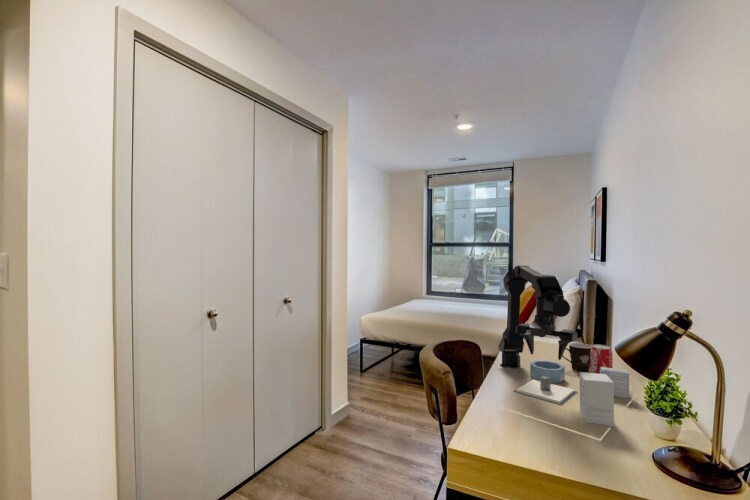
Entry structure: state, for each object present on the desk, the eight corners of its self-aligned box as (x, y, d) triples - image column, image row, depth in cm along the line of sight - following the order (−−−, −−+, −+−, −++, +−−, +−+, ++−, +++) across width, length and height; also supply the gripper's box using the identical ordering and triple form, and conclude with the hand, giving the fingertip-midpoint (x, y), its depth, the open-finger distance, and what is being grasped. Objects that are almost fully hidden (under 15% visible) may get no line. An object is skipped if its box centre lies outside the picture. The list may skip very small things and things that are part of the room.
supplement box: (607, 416, 108) (607, 373, 108) (614, 427, 101) (614, 382, 101) (579, 412, 110) (579, 371, 110) (584, 423, 103) (584, 379, 103)
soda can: (606, 377, 141) (606, 344, 141) (616, 384, 134) (616, 349, 134) (586, 377, 142) (586, 343, 142) (596, 383, 134) (596, 348, 135)
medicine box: (626, 395, 124) (626, 369, 124) (629, 399, 120) (629, 373, 120) (599, 391, 127) (599, 366, 127) (601, 395, 123) (601, 370, 123)
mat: (512, 393, 126) (512, 391, 126) (531, 381, 137) (531, 380, 137) (561, 407, 114) (561, 405, 114) (578, 393, 125) (578, 391, 125)
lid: (516, 391, 125) (516, 377, 126) (533, 381, 135) (533, 368, 135) (559, 403, 115) (559, 388, 115) (574, 391, 125) (574, 377, 125)
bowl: (526, 379, 140) (526, 364, 140) (538, 372, 147) (538, 359, 147) (557, 386, 132) (557, 371, 132) (567, 379, 139) (567, 365, 139)
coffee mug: (593, 368, 152) (593, 344, 152) (592, 374, 144) (592, 349, 144) (562, 364, 158) (561, 341, 158) (559, 369, 151) (559, 345, 151)
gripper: (508, 311, 127) (508, 356, 127) (566, 318, 113) (566, 368, 113) (522, 307, 134) (522, 350, 134) (577, 314, 121) (578, 360, 121)
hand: (545, 356), depth 125 cm, fingers open, 9 cm apart
